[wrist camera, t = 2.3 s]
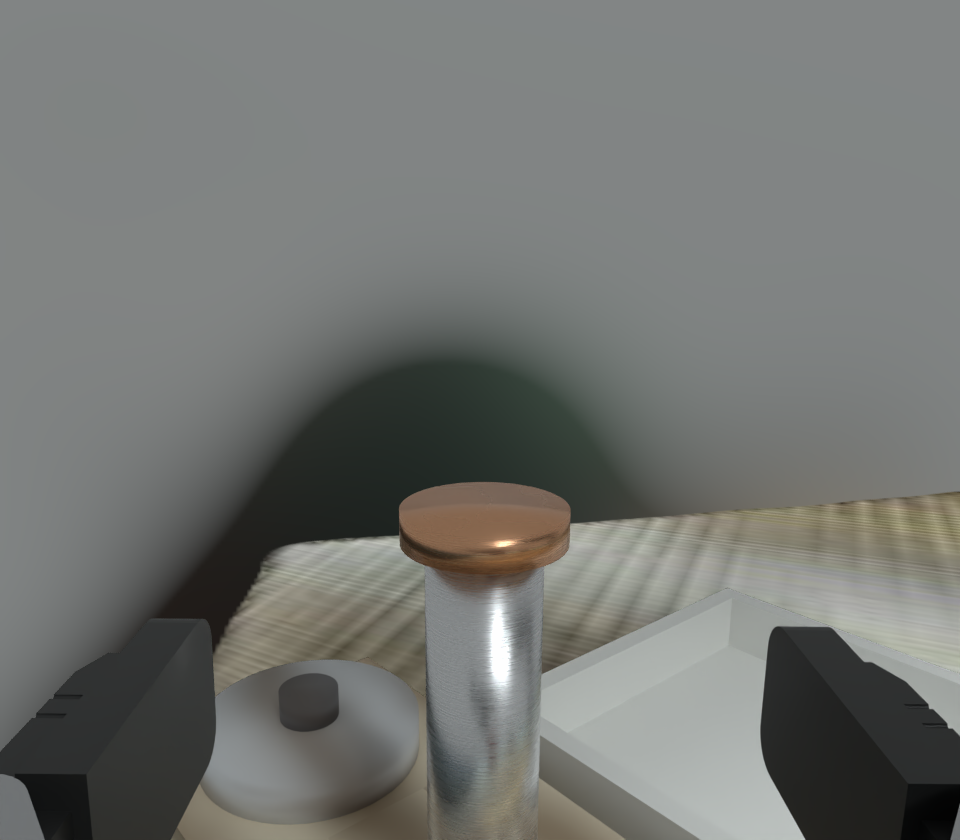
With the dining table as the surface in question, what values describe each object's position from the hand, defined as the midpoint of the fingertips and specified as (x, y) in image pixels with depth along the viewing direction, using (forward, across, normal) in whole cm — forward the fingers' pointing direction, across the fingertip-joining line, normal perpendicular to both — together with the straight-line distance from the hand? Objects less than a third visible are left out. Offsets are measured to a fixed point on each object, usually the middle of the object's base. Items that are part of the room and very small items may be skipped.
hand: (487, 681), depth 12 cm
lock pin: (+12, 0, +18) cm, 21 cm away
